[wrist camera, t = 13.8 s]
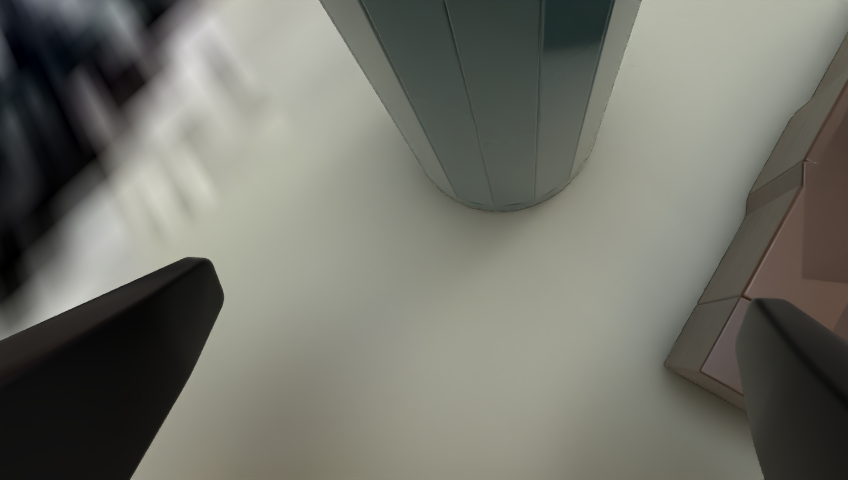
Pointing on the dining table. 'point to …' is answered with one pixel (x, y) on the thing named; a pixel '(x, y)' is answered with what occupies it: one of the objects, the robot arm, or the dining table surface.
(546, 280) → the dining table surface
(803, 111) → the holder
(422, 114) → the tumbler
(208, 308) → the robot arm
